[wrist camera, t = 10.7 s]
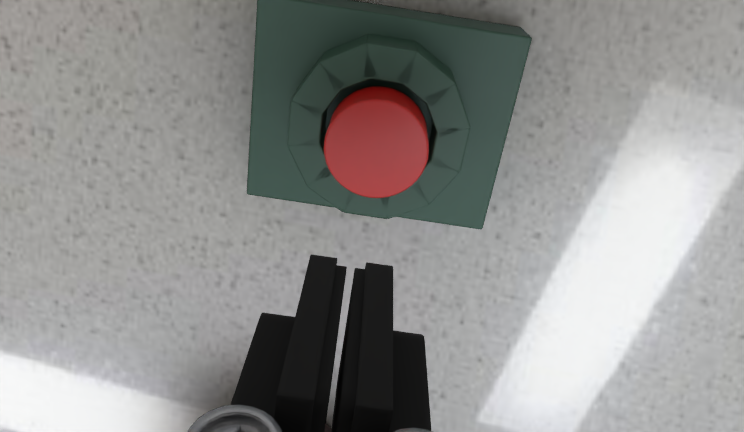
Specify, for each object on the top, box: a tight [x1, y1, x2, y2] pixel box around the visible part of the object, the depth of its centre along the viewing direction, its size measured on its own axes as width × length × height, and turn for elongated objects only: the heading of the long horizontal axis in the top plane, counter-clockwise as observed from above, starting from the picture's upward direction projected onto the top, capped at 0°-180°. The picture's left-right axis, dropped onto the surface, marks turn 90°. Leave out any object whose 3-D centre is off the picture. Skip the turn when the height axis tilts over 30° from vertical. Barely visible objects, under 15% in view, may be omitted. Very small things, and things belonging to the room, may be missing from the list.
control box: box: [247, 0, 532, 229], centre depth 24 cm, size 10×8×4 cm
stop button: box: [324, 86, 429, 198], centre depth 21 cm, size 4×4×2 cm
